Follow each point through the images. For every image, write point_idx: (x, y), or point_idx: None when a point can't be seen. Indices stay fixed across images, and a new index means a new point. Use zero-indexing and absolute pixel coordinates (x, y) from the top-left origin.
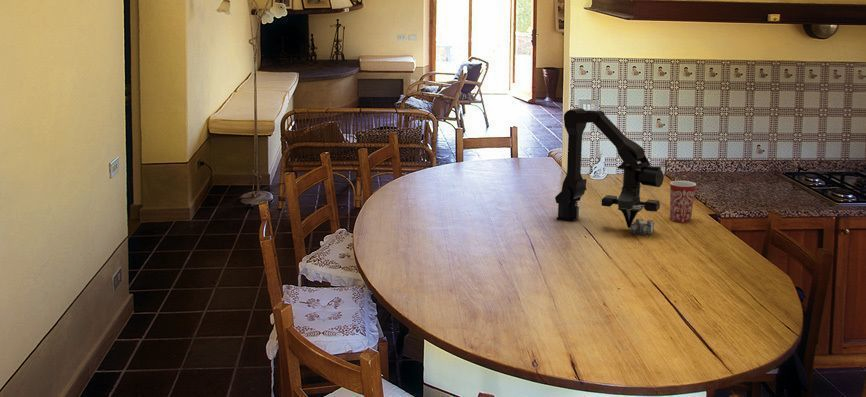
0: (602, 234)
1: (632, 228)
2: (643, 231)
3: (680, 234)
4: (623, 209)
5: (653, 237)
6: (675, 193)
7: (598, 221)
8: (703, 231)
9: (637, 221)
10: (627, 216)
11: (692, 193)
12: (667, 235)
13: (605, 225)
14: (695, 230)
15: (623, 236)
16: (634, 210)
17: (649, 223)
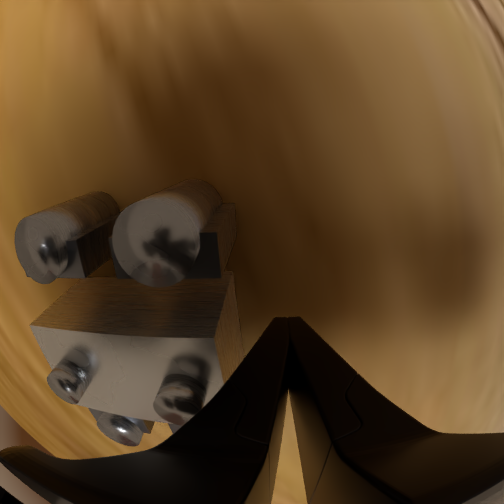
0: (461, 69)
1: (187, 192)
2: (74, 201)
3: (6, 337)
4: (491, 482)
5: (36, 197)
6: None
7: (484, 388)
8: (10, 394)
9: (173, 377)
10: (324, 406)
11: None
12: (17, 295)
13: (468, 347)
14: (27, 403)
15: (267, 61)
16: (61, 498)
17: (52, 347)
